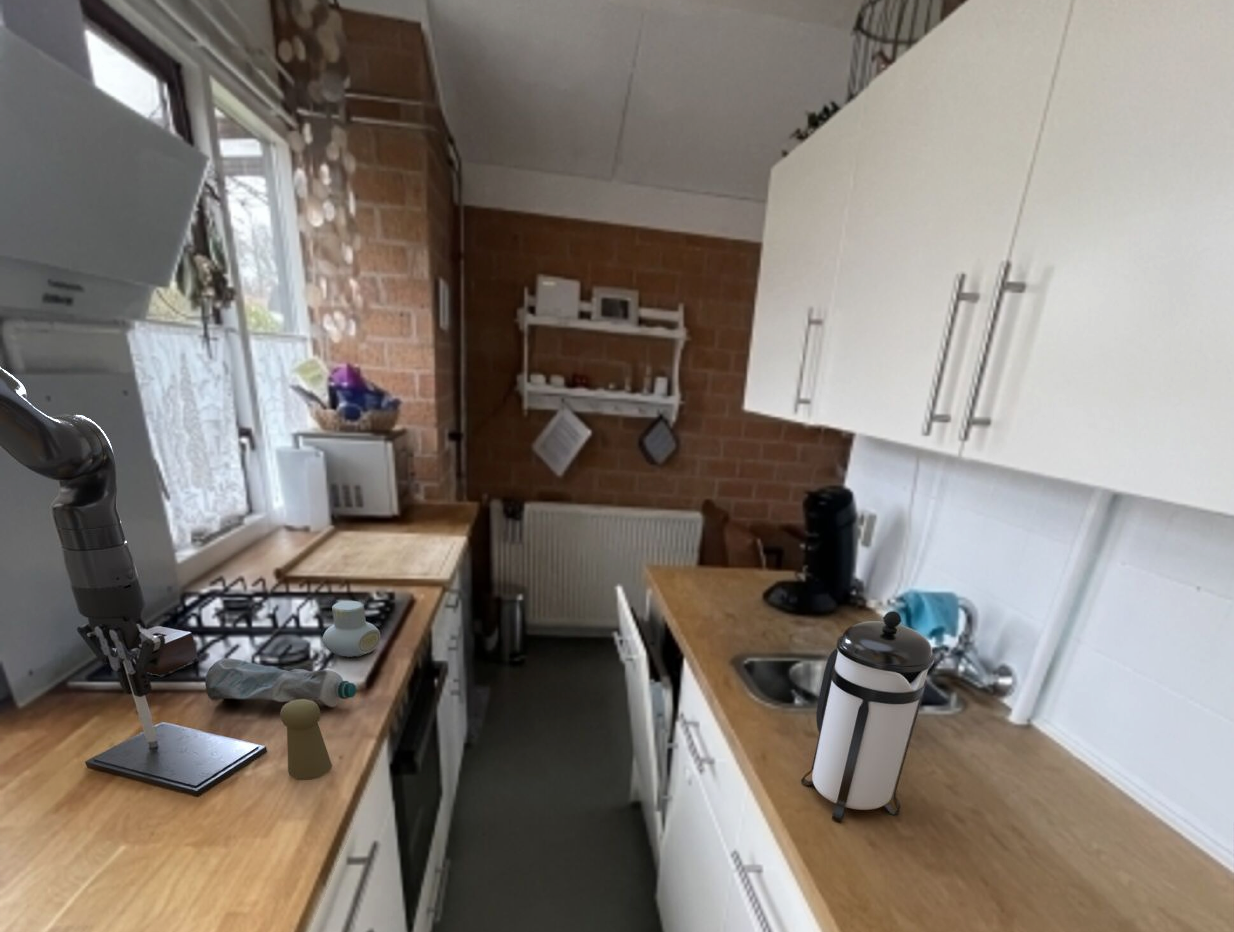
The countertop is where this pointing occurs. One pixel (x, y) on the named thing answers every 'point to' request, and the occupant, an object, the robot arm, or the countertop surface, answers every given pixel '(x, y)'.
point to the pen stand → (173, 649)
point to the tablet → (178, 758)
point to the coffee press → (868, 713)
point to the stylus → (144, 717)
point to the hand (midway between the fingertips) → (138, 692)
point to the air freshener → (350, 631)
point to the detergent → (274, 683)
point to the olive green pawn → (304, 740)
